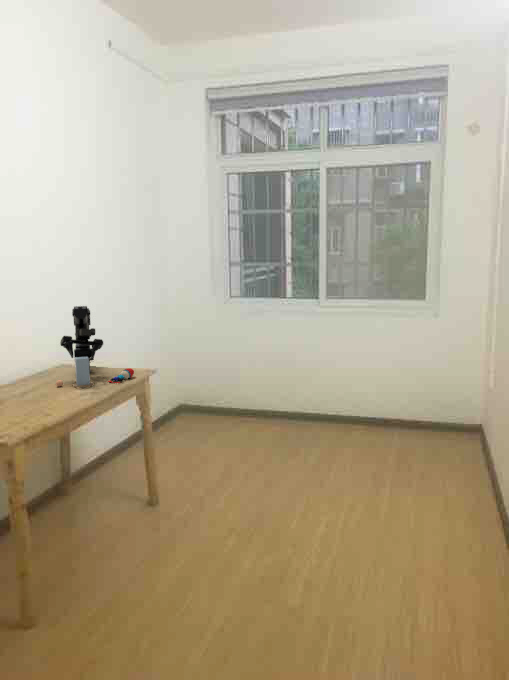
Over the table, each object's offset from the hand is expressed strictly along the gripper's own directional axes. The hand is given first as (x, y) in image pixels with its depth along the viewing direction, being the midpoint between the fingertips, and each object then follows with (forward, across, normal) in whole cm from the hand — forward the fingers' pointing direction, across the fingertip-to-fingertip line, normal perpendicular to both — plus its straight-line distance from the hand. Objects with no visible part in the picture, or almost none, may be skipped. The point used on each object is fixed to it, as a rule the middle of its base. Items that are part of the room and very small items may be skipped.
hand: (82, 358), depth 258 cm
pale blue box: (+13, 0, -1) cm, 13 cm away
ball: (+14, -10, +3) cm, 17 cm away
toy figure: (+11, +18, -2) cm, 21 cm away
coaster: (+14, 0, -1) cm, 14 cm away
